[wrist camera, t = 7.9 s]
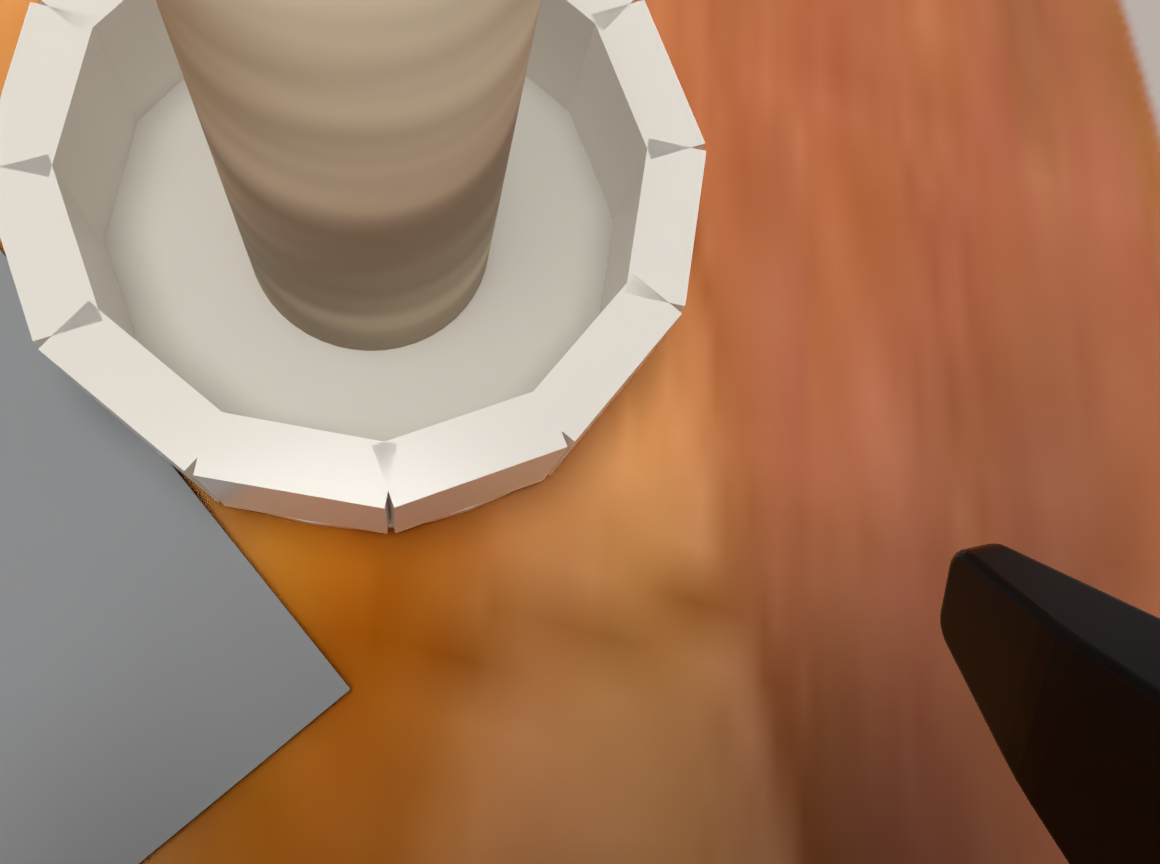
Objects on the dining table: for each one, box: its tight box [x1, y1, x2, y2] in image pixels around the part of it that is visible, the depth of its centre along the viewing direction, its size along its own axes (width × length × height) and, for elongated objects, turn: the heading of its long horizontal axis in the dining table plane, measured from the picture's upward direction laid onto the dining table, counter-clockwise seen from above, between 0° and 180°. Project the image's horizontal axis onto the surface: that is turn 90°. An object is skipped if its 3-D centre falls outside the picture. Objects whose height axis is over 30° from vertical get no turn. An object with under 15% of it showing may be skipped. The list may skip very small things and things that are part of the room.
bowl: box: [0, 0, 706, 534], centre depth 19 cm, size 11×11×4 cm
